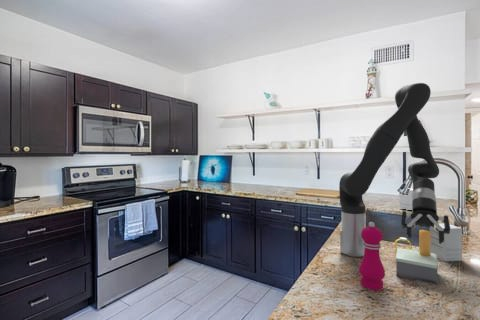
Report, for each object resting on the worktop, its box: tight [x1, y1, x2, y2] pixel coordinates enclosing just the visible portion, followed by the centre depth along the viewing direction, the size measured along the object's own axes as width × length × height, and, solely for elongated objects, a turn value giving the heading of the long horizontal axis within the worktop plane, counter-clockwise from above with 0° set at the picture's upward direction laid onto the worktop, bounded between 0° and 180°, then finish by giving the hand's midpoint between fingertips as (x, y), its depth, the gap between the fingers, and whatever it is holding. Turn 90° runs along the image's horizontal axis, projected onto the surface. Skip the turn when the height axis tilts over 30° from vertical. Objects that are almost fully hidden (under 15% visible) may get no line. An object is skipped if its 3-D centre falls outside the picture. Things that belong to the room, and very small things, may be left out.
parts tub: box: [395, 260, 438, 285], centre depth 89 cm, size 11×11×5 cm
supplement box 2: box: [429, 223, 463, 262], centre depth 101 cm, size 7×7×13 cm
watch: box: [394, 236, 413, 251], centre depth 108 cm, size 6×3×6 cm, turn 62°
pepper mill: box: [358, 221, 386, 291], centre depth 81 cm, size 7×7×20 cm
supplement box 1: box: [398, 188, 413, 211], centre depth 187 cm, size 9×9×15 cm
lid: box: [395, 229, 439, 270], centre depth 89 cm, size 11×11×10 cm
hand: (425, 240), depth 90 cm, fingers open, 8 cm apart
